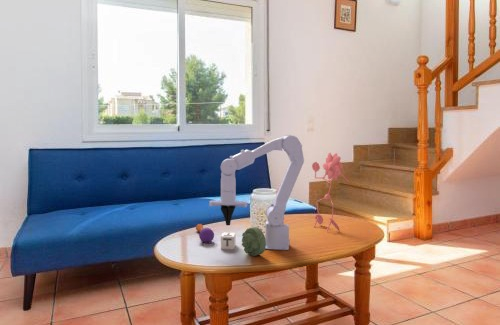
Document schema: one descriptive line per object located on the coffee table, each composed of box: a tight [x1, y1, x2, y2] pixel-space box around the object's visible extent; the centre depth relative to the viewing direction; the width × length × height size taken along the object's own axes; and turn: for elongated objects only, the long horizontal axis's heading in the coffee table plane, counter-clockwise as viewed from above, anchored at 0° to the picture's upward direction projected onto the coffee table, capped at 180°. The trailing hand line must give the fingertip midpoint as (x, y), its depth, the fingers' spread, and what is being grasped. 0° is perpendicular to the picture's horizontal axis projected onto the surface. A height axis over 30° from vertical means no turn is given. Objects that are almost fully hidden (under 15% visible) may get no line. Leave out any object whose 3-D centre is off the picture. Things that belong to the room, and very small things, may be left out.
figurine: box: [311, 152, 351, 236], centre depth 173 cm, size 15×26×35 cm, turn 28°
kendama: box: [195, 223, 215, 244], centre depth 159 cm, size 6×6×20 cm
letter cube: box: [220, 232, 236, 250], centre depth 146 cm, size 5×5×5 cm
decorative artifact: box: [241, 226, 266, 257], centre depth 136 cm, size 10×7×10 cm
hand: (228, 224), depth 146 cm, fingers closed
